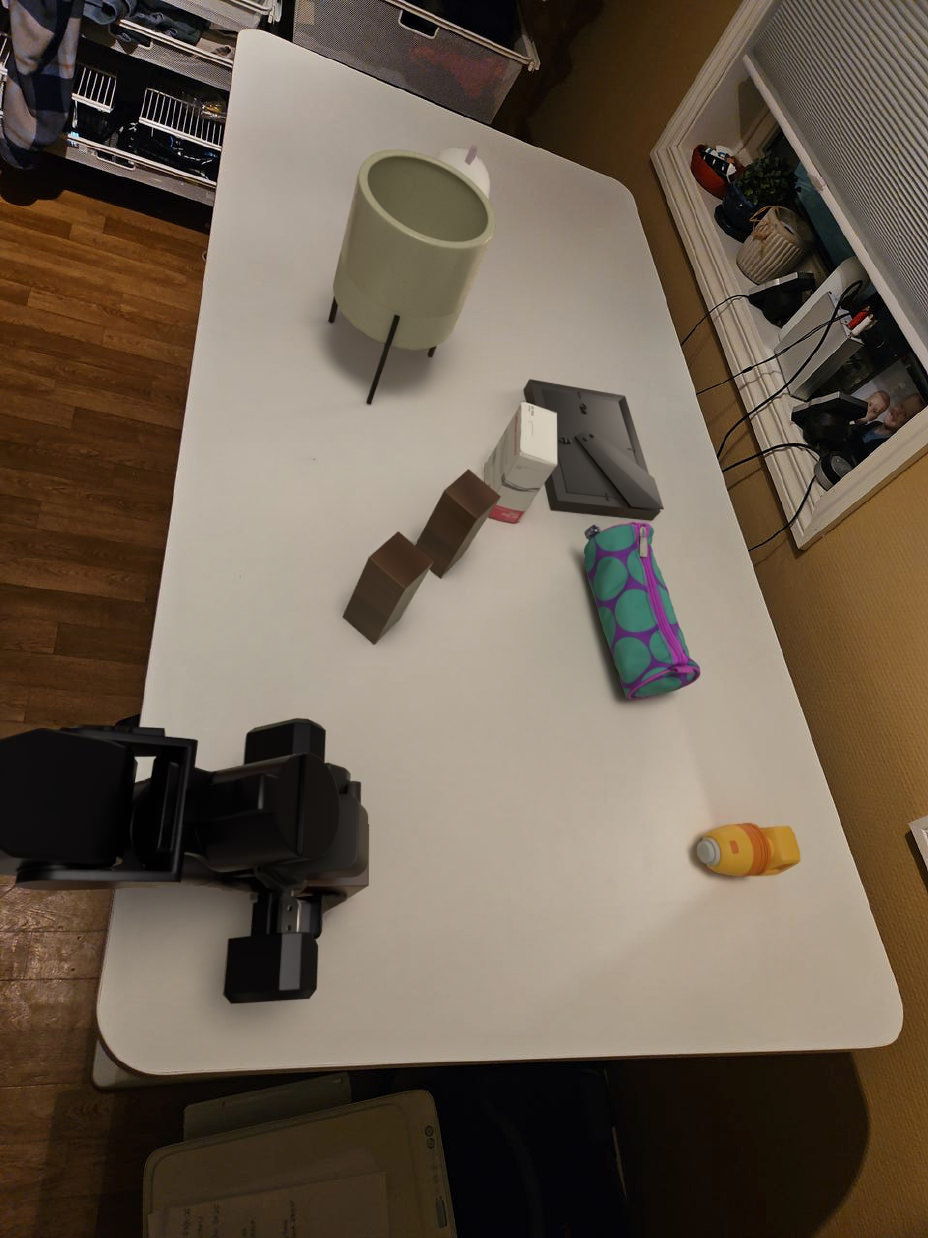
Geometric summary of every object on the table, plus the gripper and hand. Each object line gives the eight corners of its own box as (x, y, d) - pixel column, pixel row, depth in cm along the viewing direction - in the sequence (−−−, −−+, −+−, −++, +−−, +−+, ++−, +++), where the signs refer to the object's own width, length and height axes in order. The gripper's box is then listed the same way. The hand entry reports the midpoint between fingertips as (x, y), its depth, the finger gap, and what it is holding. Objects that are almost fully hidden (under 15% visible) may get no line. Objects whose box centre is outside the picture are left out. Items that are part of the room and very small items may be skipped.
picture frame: (652, 520, 99) (617, 405, 108) (663, 508, 96) (627, 391, 105) (550, 510, 93) (523, 389, 102) (560, 497, 91) (531, 374, 100)
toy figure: (693, 883, 76) (783, 876, 80) (726, 875, 71) (819, 867, 75) (680, 831, 78) (768, 826, 82) (711, 820, 73) (803, 815, 77)
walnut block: (374, 644, 75) (405, 589, 66) (342, 616, 76) (368, 557, 66) (400, 618, 78) (434, 561, 68) (369, 591, 78) (398, 530, 68)
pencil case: (565, 552, 91) (603, 508, 83) (624, 553, 94) (666, 511, 86) (610, 707, 82) (657, 675, 74) (672, 703, 86) (724, 671, 78)
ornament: (475, 248, 114) (505, 175, 104) (413, 227, 111) (437, 150, 101) (475, 209, 119) (503, 136, 109) (415, 188, 115) (438, 111, 106)
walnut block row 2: (440, 578, 82) (477, 519, 72) (410, 553, 82) (443, 490, 73) (462, 556, 85) (501, 496, 75) (433, 532, 85) (468, 468, 75)
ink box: (517, 525, 90) (559, 466, 80) (480, 515, 89) (519, 454, 79) (518, 473, 94) (559, 410, 84) (483, 462, 93) (521, 398, 83)
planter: (308, 385, 89) (346, 214, 70) (330, 302, 97) (370, 129, 78) (425, 422, 93) (492, 270, 74) (437, 340, 101) (500, 184, 82)
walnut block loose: (283, 907, 61) (306, 886, 51) (286, 852, 63) (309, 822, 53) (336, 906, 62) (368, 886, 53) (338, 852, 65) (369, 823, 55)
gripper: (303, 998, 38) (436, 991, 51) (317, 672, 47) (428, 737, 59) (144, 1008, 42) (305, 1000, 55) (184, 706, 50) (315, 760, 63)
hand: (342, 866), depth 58 cm, fingers closed on walnut block loose, 4 cm apart
